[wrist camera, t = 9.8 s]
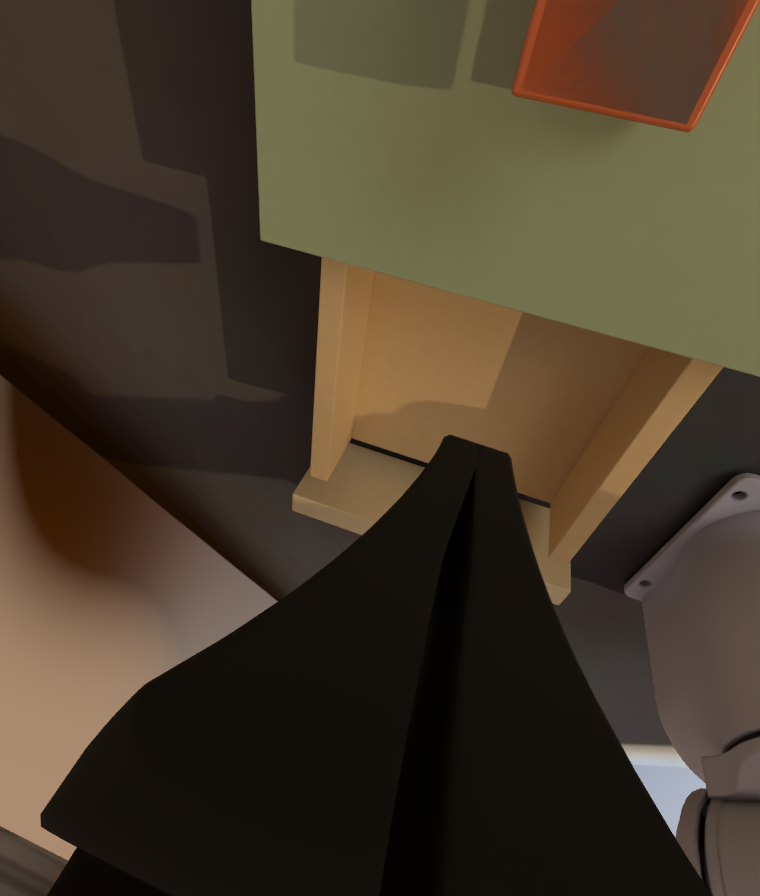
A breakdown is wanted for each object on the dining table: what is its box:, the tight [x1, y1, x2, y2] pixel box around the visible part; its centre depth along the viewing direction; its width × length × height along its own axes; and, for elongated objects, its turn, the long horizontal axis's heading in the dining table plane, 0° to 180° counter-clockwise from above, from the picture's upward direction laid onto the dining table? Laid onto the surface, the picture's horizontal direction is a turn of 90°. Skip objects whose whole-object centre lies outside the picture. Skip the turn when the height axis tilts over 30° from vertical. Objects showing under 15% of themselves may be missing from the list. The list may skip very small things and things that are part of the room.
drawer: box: [292, 257, 723, 605], centre depth 18 cm, size 19×12×4 cm, turn 172°
